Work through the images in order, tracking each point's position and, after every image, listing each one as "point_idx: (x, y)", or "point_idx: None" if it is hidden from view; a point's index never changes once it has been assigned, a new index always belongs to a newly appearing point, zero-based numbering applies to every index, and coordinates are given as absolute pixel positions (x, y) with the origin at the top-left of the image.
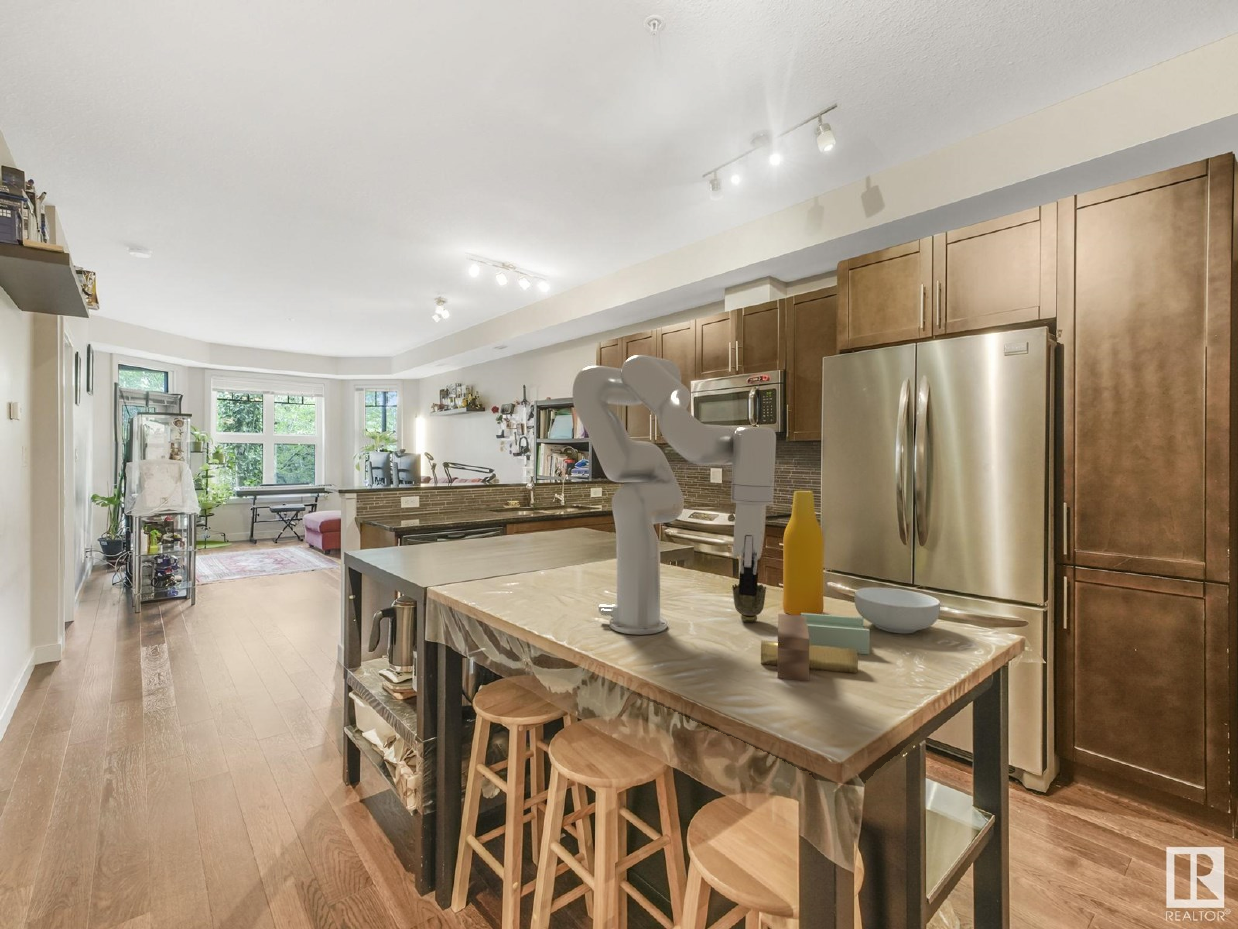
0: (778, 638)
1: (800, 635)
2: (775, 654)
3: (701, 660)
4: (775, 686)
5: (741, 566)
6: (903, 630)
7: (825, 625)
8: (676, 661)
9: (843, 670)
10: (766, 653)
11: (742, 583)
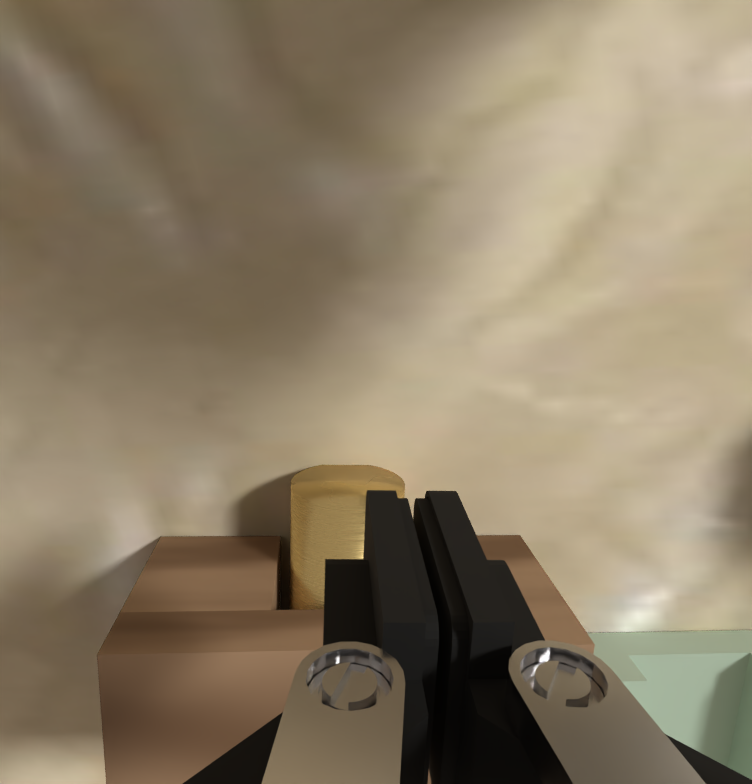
0: (102, 650)
1: (158, 766)
2: (291, 554)
3: (284, 170)
4: (59, 528)
5: (272, 755)
6: None
7: (750, 775)
8: (228, 25)
9: None
10: (291, 513)
11: (373, 578)
